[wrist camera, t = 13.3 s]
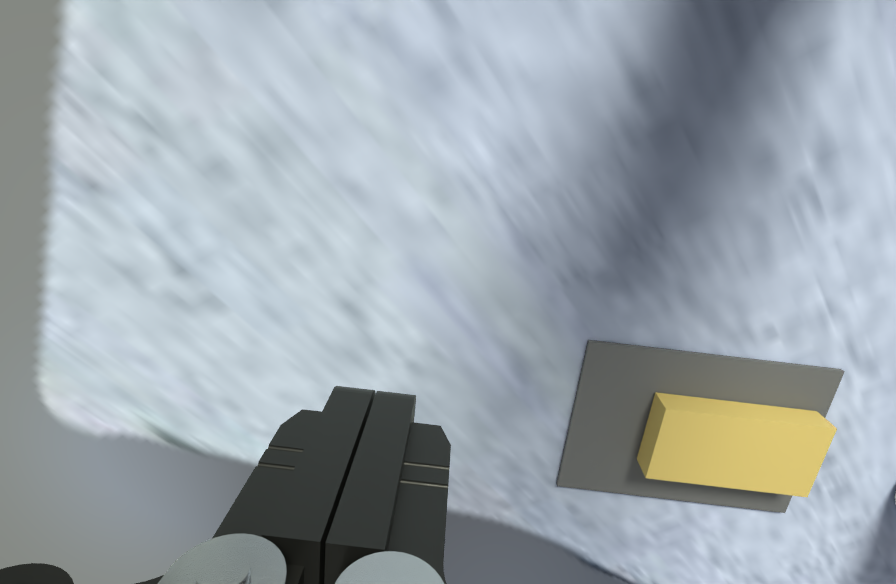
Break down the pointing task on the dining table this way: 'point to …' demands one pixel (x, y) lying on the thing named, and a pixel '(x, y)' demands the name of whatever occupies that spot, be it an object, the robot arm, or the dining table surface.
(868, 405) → the dining table surface
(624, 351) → the mat
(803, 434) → the box
